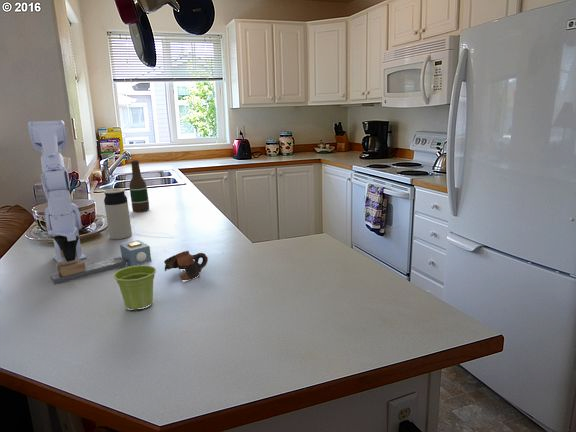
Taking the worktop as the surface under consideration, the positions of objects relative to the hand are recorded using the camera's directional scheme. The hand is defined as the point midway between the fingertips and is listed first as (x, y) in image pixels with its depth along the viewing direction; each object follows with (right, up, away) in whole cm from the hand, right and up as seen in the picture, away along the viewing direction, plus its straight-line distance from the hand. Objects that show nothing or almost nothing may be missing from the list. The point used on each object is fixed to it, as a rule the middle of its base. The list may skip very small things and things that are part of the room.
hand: (69, 259), depth 121 cm
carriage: (0, -3, +1) cm, 3 cm away
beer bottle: (-8, +15, +82) cm, 84 cm away
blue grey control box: (+14, -1, +13) cm, 19 cm away
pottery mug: (+34, -5, -1) cm, 34 cm away
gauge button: (+14, 0, +12) cm, 19 cm away
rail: (+4, -4, +4) cm, 7 cm away
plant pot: (+27, -9, -19) cm, 34 cm away
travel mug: (-1, +4, +40) cm, 40 cm away
